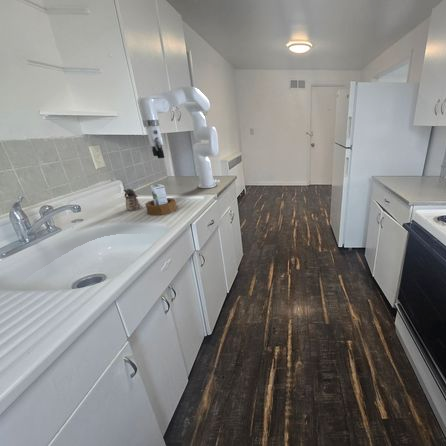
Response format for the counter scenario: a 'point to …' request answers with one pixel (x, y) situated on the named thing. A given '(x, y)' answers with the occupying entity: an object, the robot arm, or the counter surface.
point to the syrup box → (159, 194)
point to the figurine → (131, 200)
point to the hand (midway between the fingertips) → (159, 156)
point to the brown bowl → (161, 207)
